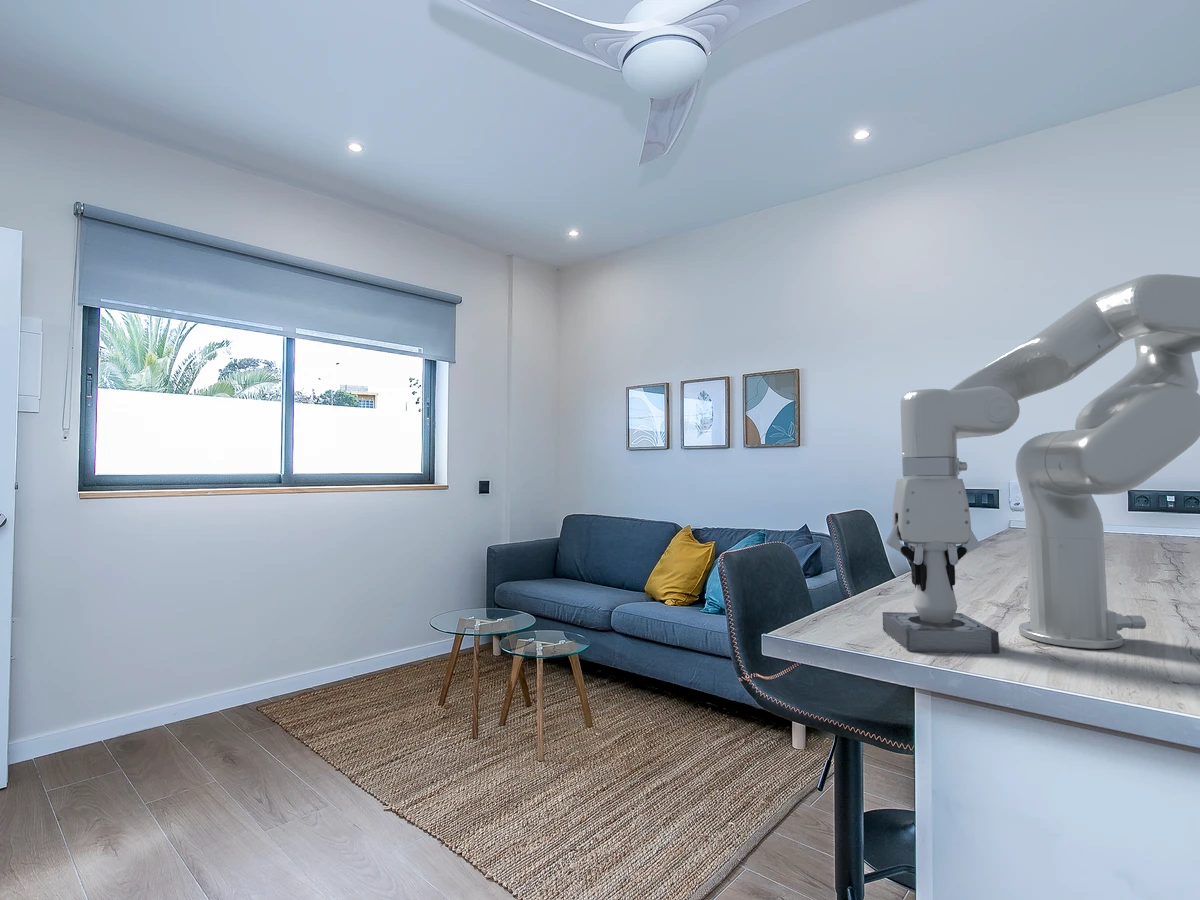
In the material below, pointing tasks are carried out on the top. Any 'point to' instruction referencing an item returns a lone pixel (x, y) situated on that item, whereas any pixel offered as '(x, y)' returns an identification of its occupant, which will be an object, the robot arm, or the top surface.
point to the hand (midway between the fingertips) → (933, 588)
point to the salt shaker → (935, 587)
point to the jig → (940, 634)
